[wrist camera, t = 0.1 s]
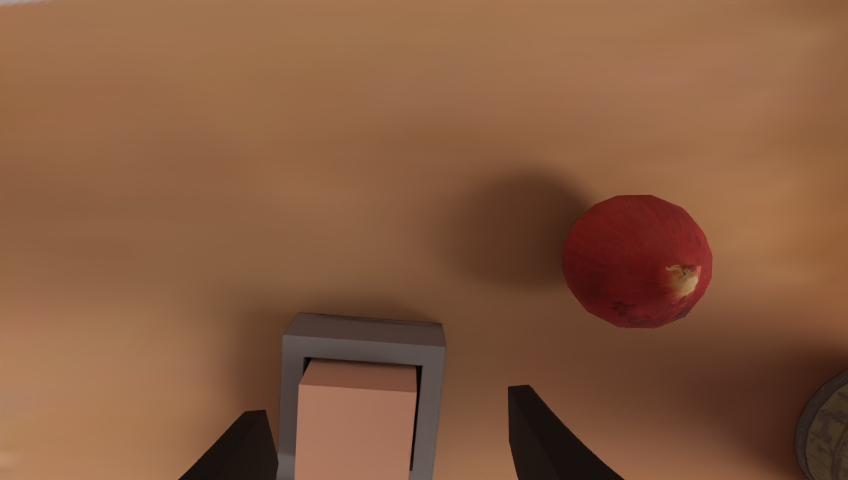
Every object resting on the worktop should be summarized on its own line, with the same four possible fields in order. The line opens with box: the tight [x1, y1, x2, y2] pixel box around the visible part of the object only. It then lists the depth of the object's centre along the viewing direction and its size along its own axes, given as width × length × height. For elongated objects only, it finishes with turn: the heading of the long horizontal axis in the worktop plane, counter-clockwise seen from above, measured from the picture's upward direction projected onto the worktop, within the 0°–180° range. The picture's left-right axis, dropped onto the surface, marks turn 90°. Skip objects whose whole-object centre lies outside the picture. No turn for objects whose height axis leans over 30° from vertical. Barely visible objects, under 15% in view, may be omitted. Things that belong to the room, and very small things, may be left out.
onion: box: [562, 195, 712, 328], centre depth 19 cm, size 6×6×8 cm
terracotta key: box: [294, 357, 417, 480], centre depth 21 cm, size 5×5×3 cm
